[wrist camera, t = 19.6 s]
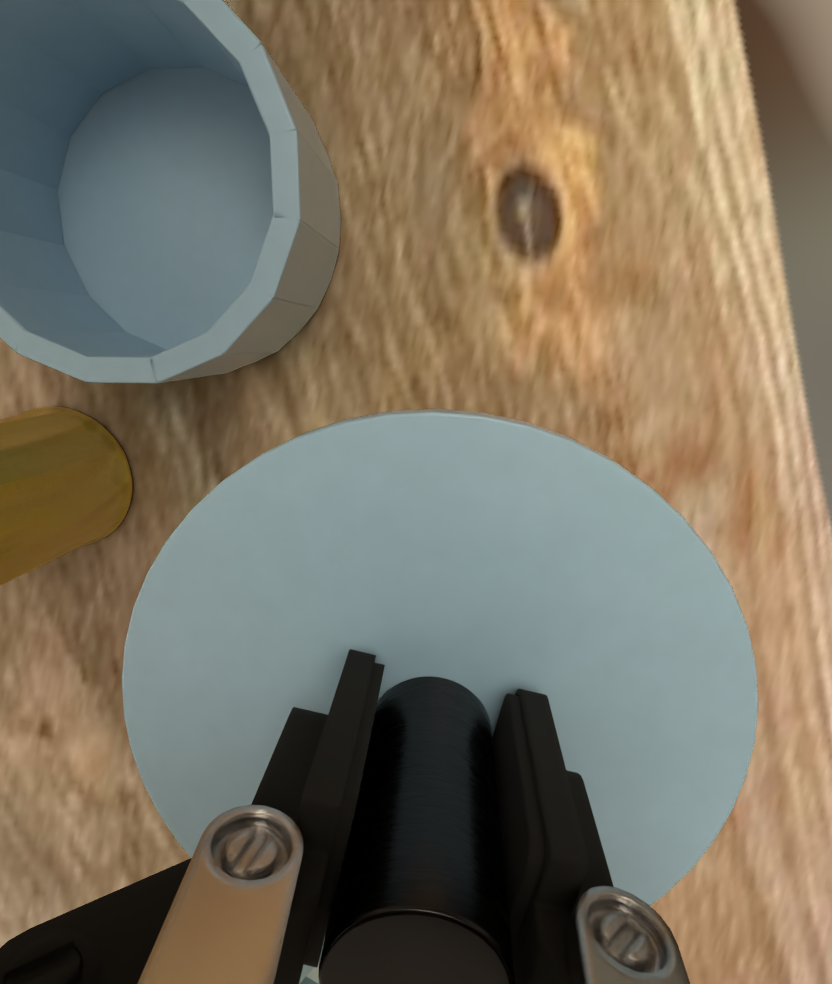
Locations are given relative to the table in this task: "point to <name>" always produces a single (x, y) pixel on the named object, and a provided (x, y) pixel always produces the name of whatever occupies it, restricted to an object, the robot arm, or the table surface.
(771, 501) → the table surface
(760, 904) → the table surface
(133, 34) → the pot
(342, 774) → the robot arm
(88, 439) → the vase
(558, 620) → the lid
